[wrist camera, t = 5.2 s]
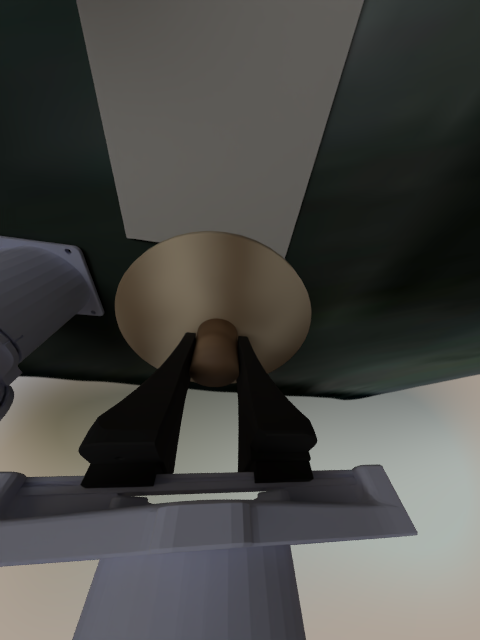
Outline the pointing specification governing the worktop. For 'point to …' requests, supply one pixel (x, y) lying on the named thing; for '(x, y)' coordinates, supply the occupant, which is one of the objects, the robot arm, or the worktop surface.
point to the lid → (213, 304)
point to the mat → (215, 108)
